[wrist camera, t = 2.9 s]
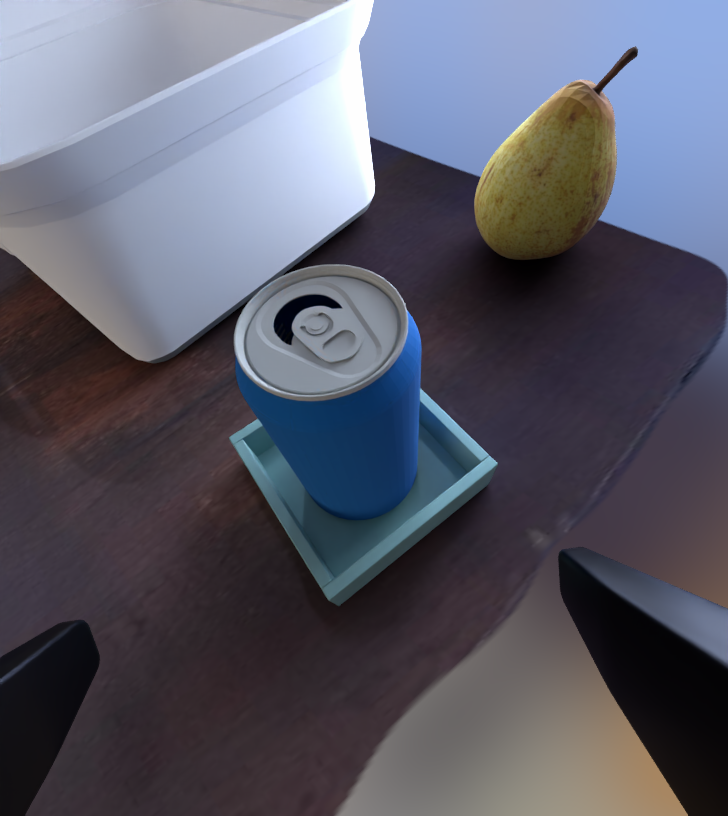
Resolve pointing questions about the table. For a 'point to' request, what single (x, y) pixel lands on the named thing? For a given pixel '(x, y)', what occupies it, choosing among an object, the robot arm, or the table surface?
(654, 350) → the table surface
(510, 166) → the fruit
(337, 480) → the beverage can
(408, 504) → the pan
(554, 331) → the table surface
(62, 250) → the white storage bin
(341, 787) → the table surface
